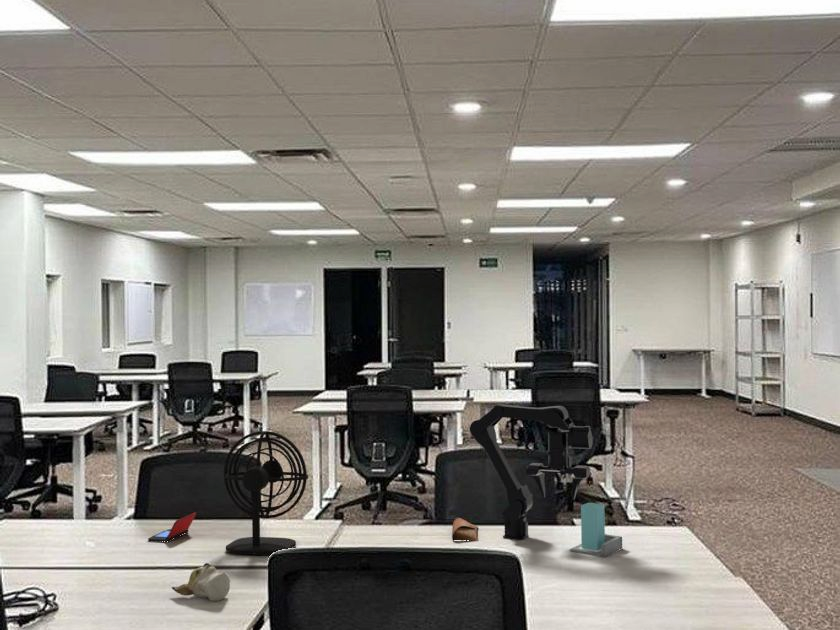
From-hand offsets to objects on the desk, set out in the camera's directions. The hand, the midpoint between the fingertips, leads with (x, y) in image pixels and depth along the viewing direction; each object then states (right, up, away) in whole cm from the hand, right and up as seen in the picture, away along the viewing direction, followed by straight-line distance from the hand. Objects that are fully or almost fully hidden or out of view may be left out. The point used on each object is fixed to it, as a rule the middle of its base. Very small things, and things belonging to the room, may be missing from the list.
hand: (558, 498), depth 261 cm
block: (+8, -12, -11) cm, 18 cm away
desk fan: (-90, -15, -3) cm, 91 cm away
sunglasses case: (-28, -14, +10) cm, 33 cm away
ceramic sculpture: (-96, -15, -48) cm, 108 cm away
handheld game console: (-122, -15, +12) cm, 123 cm away
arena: (+8, -13, -11) cm, 19 cm away
